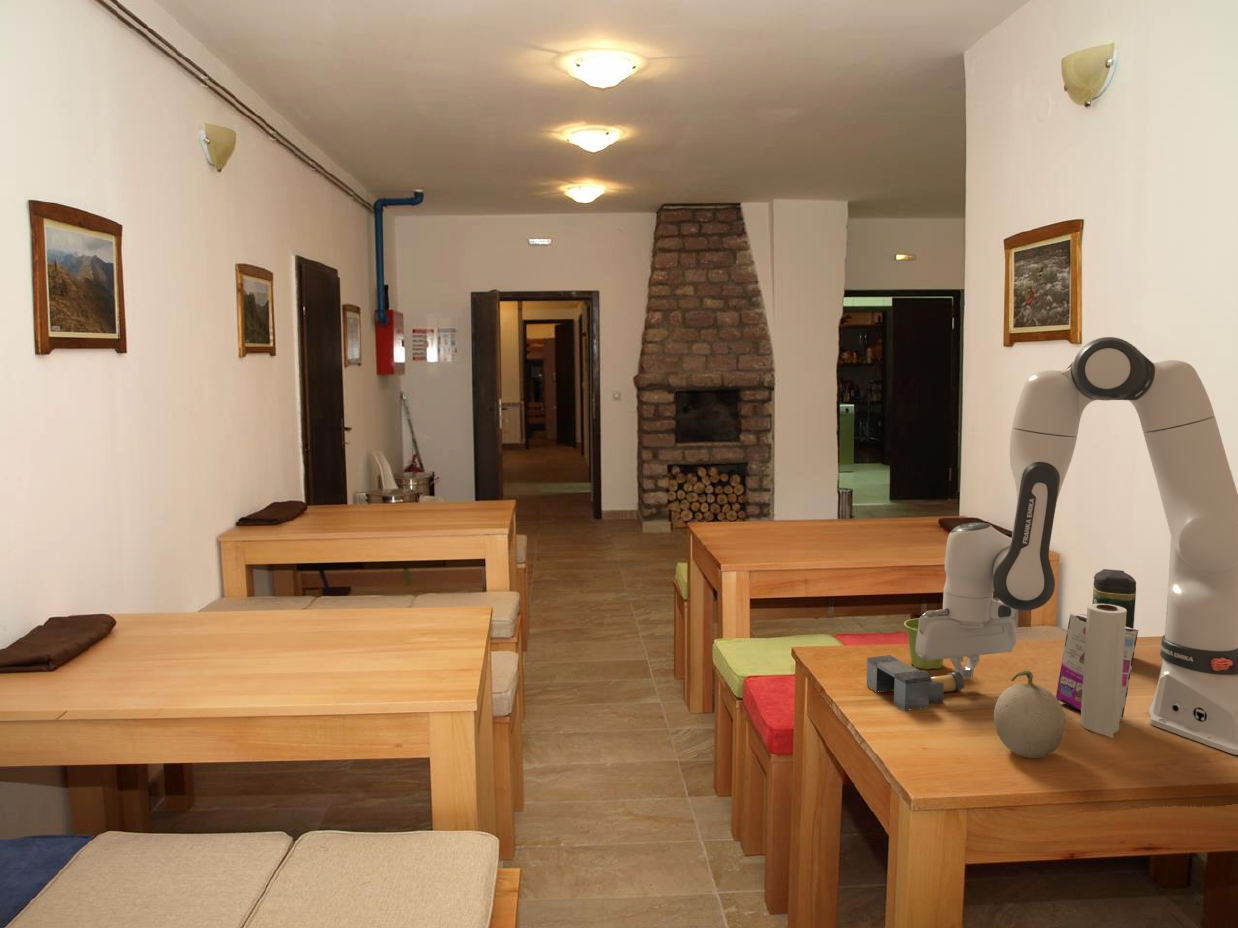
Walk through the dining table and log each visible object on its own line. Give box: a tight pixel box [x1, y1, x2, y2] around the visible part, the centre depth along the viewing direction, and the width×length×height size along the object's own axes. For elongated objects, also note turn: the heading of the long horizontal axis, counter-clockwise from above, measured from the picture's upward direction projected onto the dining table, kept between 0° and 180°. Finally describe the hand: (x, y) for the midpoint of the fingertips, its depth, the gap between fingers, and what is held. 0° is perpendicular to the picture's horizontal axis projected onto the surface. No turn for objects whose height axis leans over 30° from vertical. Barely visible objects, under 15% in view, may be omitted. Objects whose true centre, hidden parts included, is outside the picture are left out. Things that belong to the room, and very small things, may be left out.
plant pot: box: [903, 617, 944, 670], centre depth 197 cm, size 9×9×9 cm
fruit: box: [993, 670, 1066, 759], centre depth 154 cm, size 10×12×15 cm
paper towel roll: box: [1080, 603, 1127, 739], centre depth 164 cm, size 7×6×21 cm
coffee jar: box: [1091, 568, 1137, 629], centre depth 201 cm, size 10×8×19 cm
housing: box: [866, 654, 944, 711], centre depth 180 cm, size 13×9×6 cm
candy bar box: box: [1055, 613, 1139, 721], centre depth 172 cm, size 11×5×16 cm, turn 20°
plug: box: [919, 670, 965, 693], centre depth 182 cm, size 12×4×4 cm, turn 106°
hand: (964, 677), depth 184 cm, fingers closed
